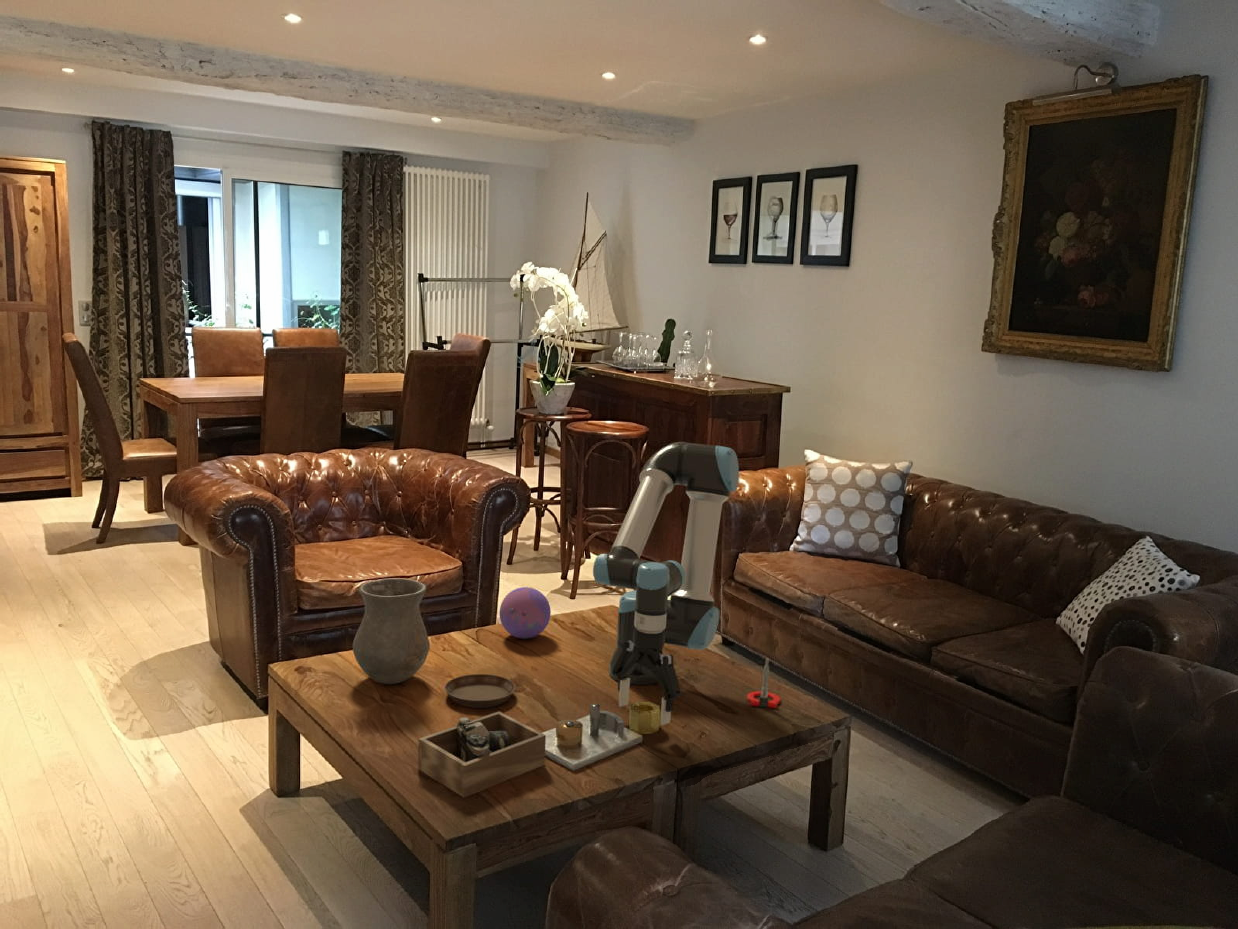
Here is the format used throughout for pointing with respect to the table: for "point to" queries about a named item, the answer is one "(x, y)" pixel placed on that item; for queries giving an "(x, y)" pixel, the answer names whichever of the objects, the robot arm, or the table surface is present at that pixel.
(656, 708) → the gear
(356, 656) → the vase
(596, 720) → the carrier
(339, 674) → the table surface
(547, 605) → the decorative ball
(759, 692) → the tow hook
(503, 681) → the plant saucer
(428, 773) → the camera caddy
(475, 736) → the camera
